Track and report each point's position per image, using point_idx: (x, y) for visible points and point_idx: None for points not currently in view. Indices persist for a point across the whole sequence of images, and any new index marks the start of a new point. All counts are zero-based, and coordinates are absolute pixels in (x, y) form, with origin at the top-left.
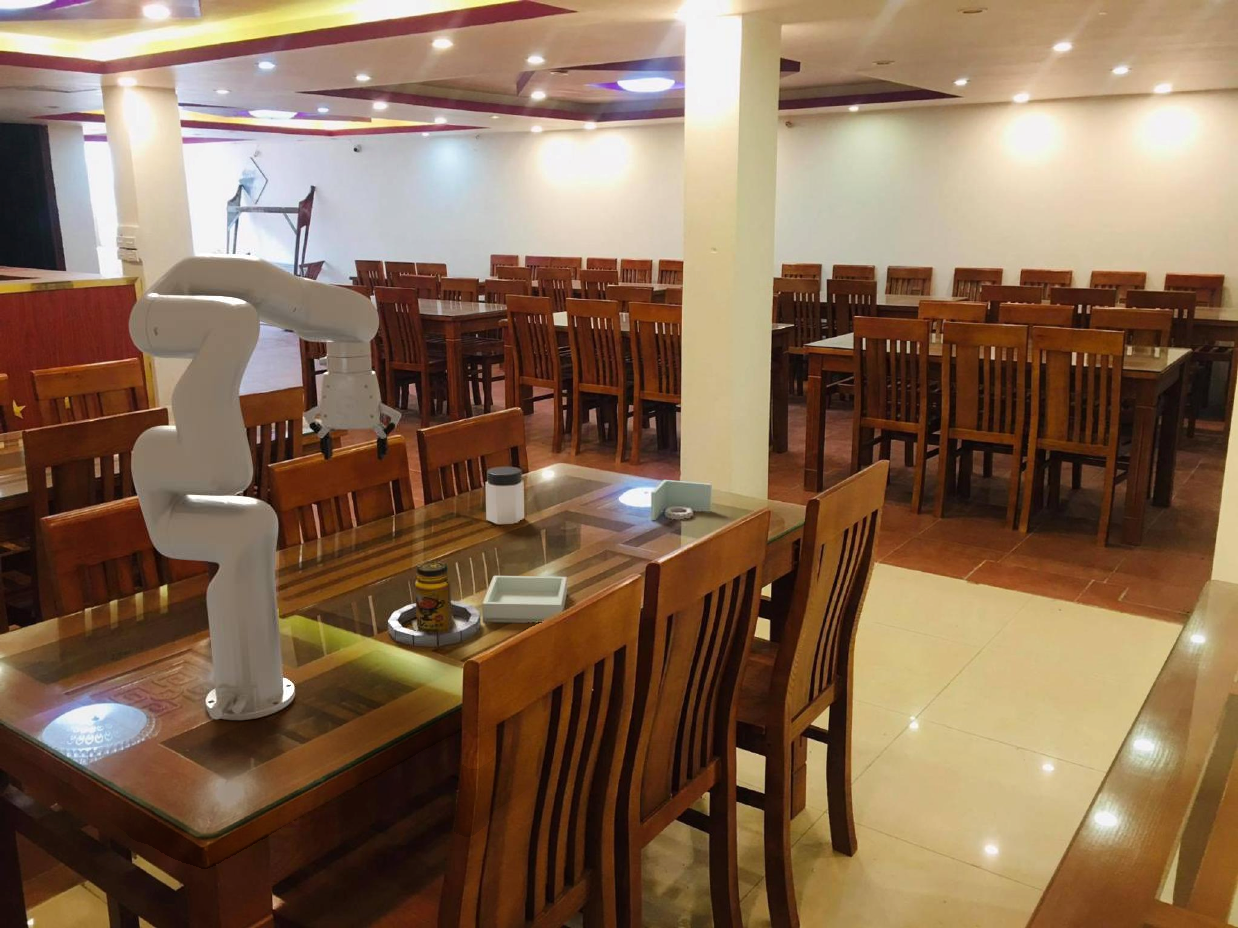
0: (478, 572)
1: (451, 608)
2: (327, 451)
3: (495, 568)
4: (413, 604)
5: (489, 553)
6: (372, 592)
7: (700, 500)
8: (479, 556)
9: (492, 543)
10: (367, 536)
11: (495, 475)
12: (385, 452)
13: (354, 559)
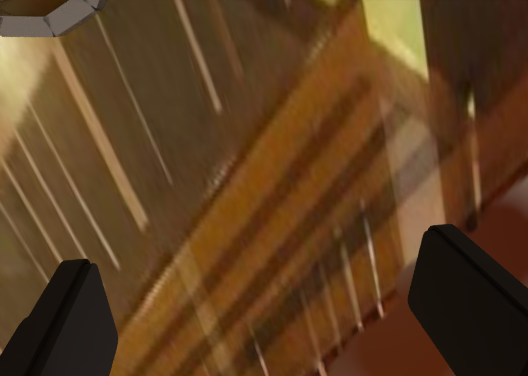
0: (58, 231)
1: (3, 15)
2: (461, 259)
3: (35, 251)
4: (86, 9)
5: None
6: (219, 125)
7: None
8: None
9: None
10: (293, 337)
11: None
12: (25, 321)
13: (290, 258)
